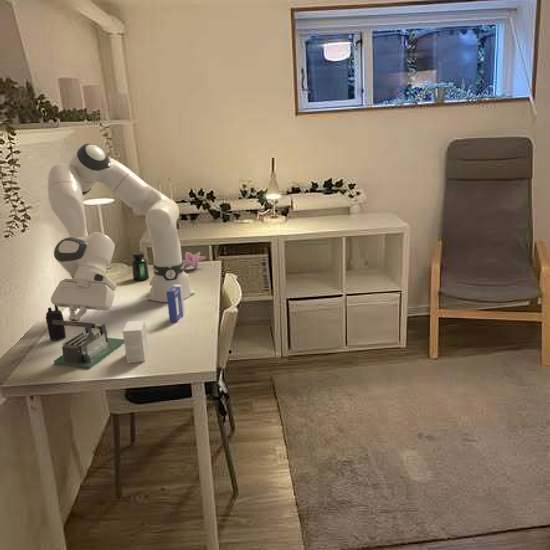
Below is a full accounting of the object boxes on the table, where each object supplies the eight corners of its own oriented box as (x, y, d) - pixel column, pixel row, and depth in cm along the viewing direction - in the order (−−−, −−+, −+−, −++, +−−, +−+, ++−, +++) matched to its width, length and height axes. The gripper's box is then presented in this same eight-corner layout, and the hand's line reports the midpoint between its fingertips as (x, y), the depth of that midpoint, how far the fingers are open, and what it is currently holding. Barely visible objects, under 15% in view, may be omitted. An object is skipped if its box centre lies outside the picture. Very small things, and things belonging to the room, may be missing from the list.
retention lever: (77, 323, 183) (52, 319, 172) (114, 326, 179) (91, 323, 168) (76, 327, 183) (51, 324, 172) (113, 331, 179) (90, 327, 168)
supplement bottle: (146, 281, 250) (143, 255, 246) (131, 281, 250) (128, 255, 247) (150, 276, 256) (147, 251, 253) (135, 277, 257) (132, 251, 253)
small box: (131, 352, 179) (126, 321, 176) (148, 350, 179) (145, 320, 176) (126, 363, 172) (122, 331, 168) (145, 361, 172) (141, 330, 169)
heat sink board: (91, 339, 190) (88, 316, 188) (125, 342, 186) (121, 319, 184) (54, 364, 173) (49, 339, 171) (90, 368, 169) (86, 343, 167)
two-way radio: (67, 335, 194) (60, 294, 190) (65, 341, 190) (57, 299, 186) (50, 337, 193) (43, 296, 189) (47, 342, 189) (40, 300, 185)
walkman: (177, 322, 201) (173, 290, 198) (169, 322, 202) (166, 290, 198) (185, 314, 209) (182, 283, 205) (178, 314, 209) (175, 283, 206)
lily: (211, 269, 266) (204, 250, 268) (205, 266, 255) (198, 247, 256) (187, 278, 267) (181, 259, 268) (181, 276, 256) (174, 256, 257)
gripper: (55, 273, 178) (39, 313, 172) (111, 277, 171) (96, 319, 165) (67, 282, 183) (51, 322, 177) (121, 286, 177) (107, 327, 171)
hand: (73, 320), depth 171 cm, fingers closed, pressing on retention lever
